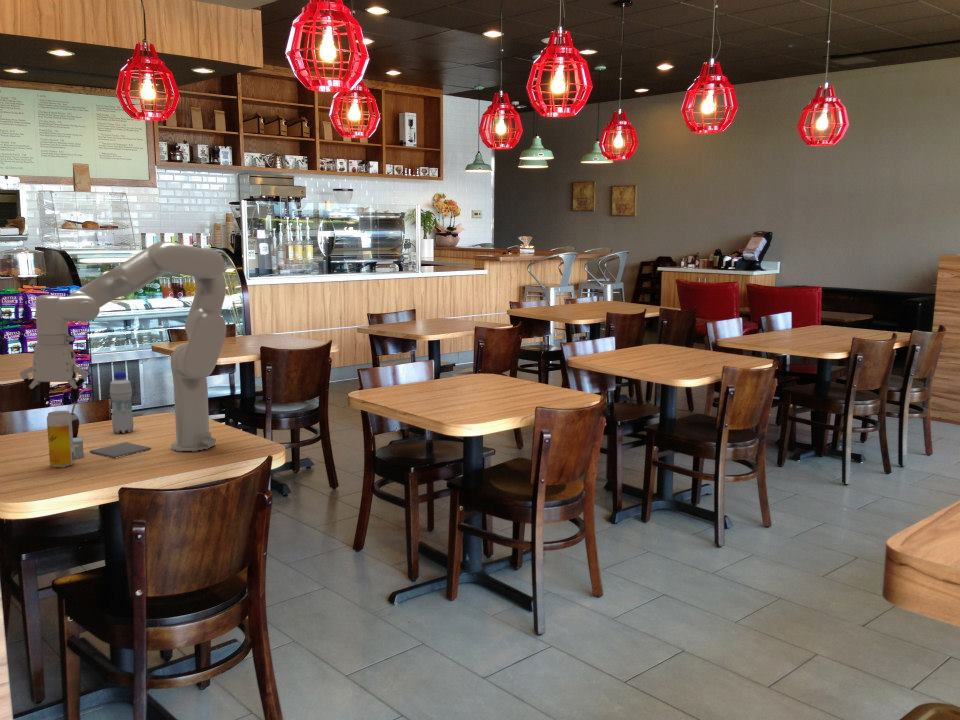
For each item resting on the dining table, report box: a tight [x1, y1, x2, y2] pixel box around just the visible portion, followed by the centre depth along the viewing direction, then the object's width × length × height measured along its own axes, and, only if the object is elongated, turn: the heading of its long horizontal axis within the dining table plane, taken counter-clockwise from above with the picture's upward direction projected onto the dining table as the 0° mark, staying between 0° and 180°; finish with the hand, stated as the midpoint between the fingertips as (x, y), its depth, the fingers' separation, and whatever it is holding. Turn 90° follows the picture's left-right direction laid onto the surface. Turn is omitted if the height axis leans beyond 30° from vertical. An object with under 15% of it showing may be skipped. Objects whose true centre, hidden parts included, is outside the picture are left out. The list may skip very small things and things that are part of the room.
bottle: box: [109, 371, 134, 434], centre depth 262 cm, size 7×7×20 cm
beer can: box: [46, 410, 75, 468], centre depth 224 cm, size 6×6×15 cm
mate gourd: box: [70, 390, 84, 438], centre depth 253 cm, size 8×8×15 cm
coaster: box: [89, 441, 152, 459], centre depth 240 cm, size 12×12×1 cm
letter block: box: [73, 436, 85, 459], centre depth 234 cm, size 5×5×5 cm
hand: (55, 402), depth 222 cm, fingers open, 9 cm apart
